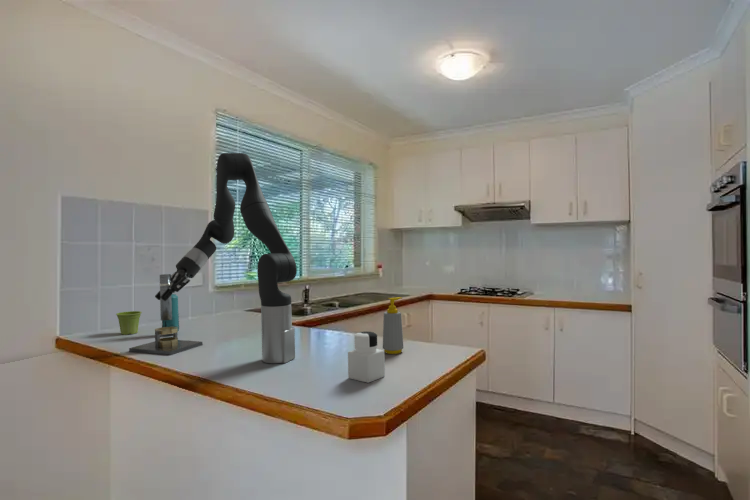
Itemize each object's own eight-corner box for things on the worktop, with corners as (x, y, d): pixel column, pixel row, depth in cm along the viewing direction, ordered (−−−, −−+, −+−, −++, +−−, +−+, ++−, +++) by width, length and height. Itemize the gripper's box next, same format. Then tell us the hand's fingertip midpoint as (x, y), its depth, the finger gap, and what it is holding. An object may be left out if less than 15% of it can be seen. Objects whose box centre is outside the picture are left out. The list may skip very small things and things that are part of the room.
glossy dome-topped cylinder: (174, 318, 153) (173, 274, 153) (166, 320, 150) (165, 275, 150) (166, 318, 155) (165, 274, 154) (158, 320, 151) (156, 274, 151)
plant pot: (147, 331, 185) (146, 311, 184) (131, 335, 175) (131, 314, 175) (127, 331, 186) (126, 311, 186) (111, 335, 176) (110, 314, 176)
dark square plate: (202, 344, 156) (201, 325, 156) (170, 355, 142) (169, 334, 142) (163, 342, 162) (163, 323, 162) (129, 351, 148) (128, 331, 148)
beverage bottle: (182, 333, 179) (181, 285, 179) (173, 336, 172) (172, 286, 172) (167, 333, 179) (166, 285, 179) (158, 336, 173) (157, 286, 173)
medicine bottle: (365, 371, 120) (364, 329, 120) (385, 376, 115) (384, 331, 115) (347, 378, 114) (346, 333, 114) (368, 383, 110) (367, 336, 110)
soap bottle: (407, 353, 140) (406, 298, 139) (387, 355, 137) (386, 299, 137) (398, 348, 146) (397, 295, 146) (379, 350, 143) (378, 297, 143)
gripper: (175, 255, 162) (142, 291, 153) (195, 255, 153) (161, 293, 144) (189, 268, 166) (158, 304, 157) (209, 269, 157) (177, 307, 148)
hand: (160, 298), depth 151 cm, fingers closed on glossy dome-topped cylinder, 3 cm apart
